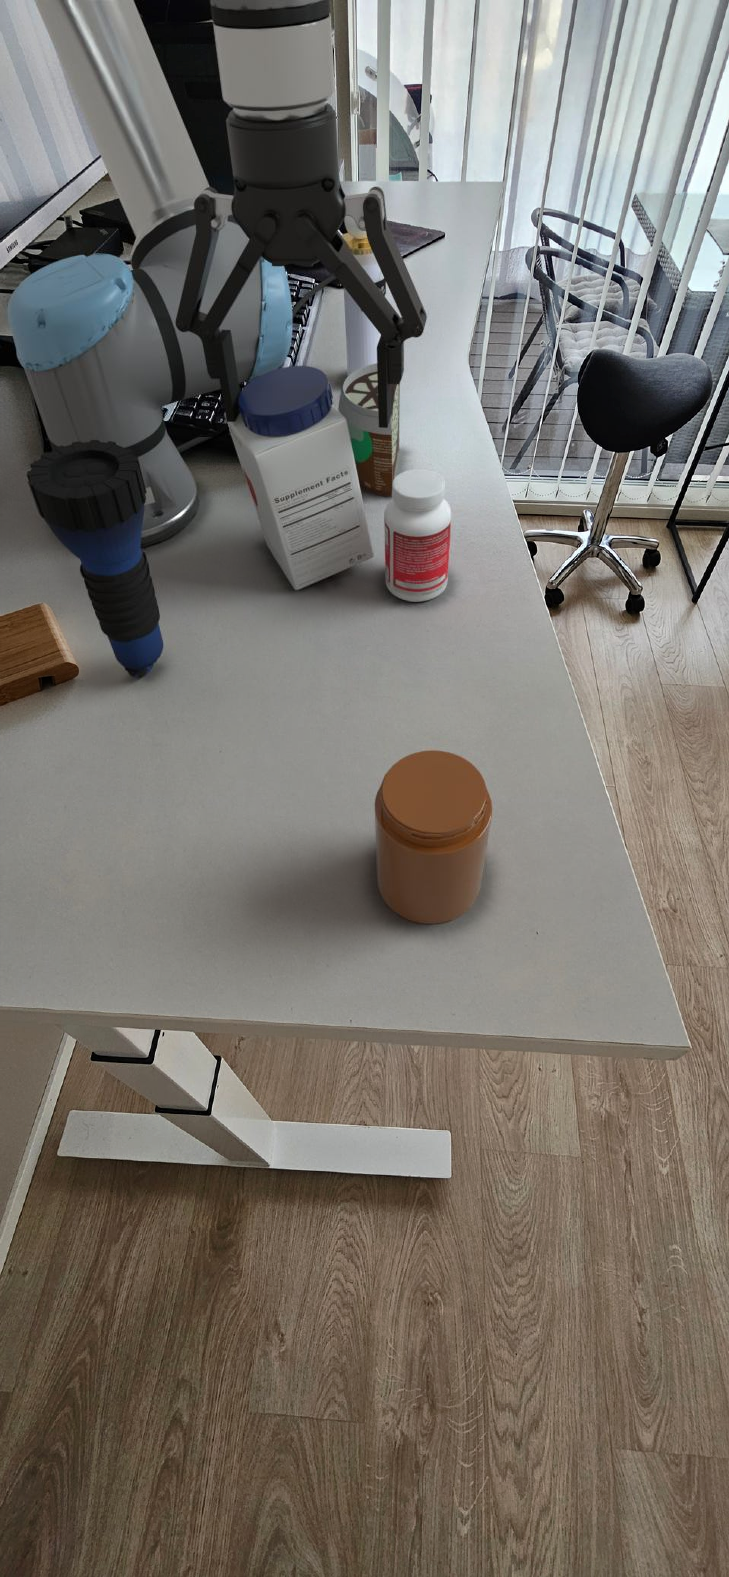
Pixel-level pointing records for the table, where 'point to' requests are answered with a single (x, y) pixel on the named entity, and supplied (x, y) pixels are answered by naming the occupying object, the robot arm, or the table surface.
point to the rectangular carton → (306, 497)
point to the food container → (371, 430)
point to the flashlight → (104, 540)
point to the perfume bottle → (357, 325)
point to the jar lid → (285, 400)
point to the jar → (431, 836)
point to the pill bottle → (417, 536)
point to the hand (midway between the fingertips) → (309, 418)
